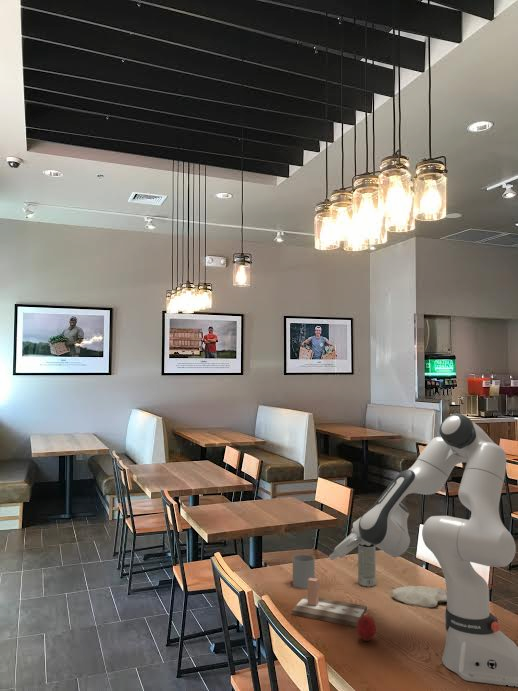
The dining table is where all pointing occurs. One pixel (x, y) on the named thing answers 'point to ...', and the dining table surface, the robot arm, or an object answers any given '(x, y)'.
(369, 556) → the spray can
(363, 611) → the board with dashed strip
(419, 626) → the dining table surface
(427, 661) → the dining table surface
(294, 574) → the cup
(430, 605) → the fragment
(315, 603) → the stub
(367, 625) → the onion
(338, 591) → the dining table surface
